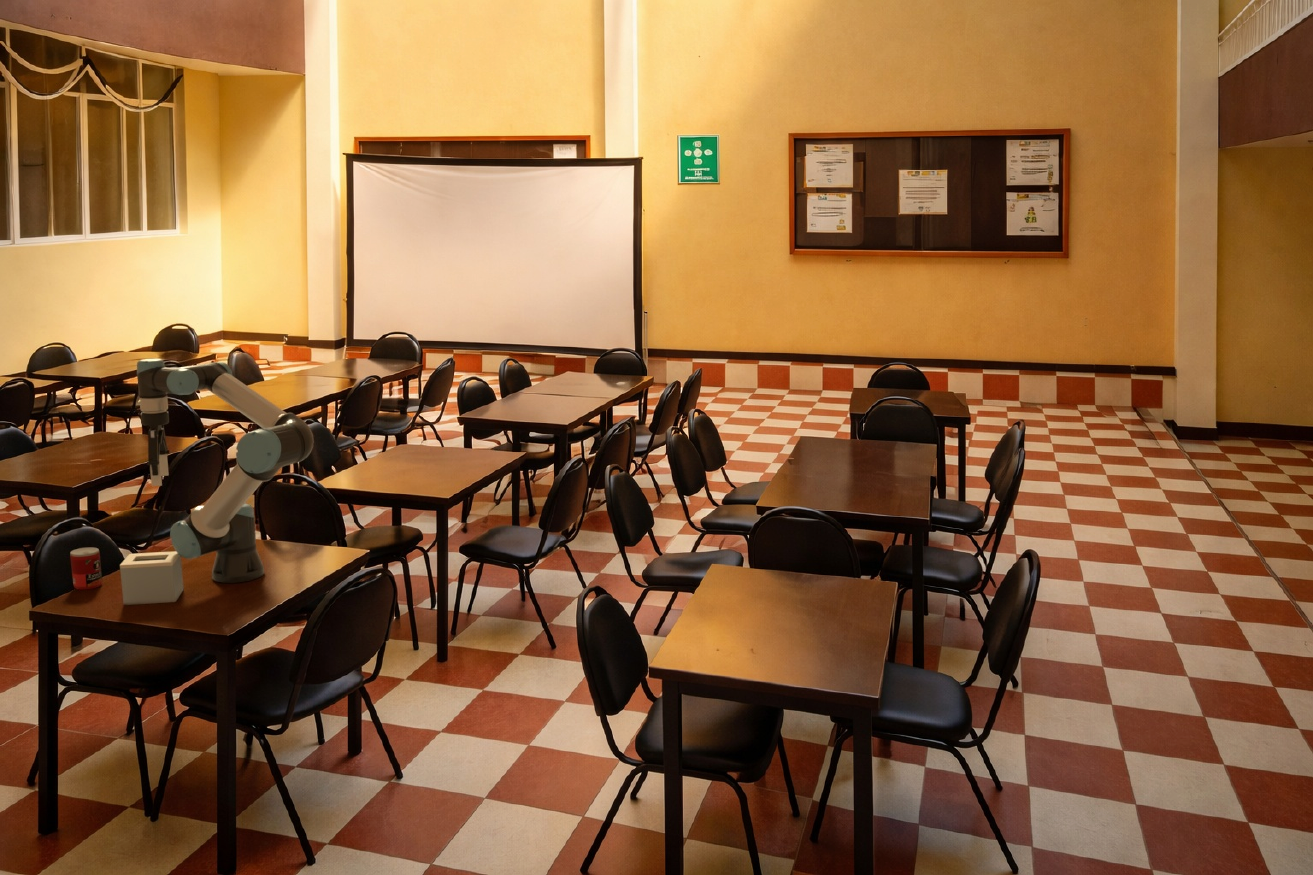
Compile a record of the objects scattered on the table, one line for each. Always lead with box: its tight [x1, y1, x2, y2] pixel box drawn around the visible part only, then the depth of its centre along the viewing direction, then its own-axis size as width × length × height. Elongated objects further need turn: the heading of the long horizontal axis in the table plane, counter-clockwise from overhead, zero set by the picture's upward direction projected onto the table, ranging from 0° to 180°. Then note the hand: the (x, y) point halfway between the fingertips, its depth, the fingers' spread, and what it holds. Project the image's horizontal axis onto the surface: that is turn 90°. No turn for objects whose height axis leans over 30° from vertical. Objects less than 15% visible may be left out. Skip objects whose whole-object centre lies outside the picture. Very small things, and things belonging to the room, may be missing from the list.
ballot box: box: [119, 550, 184, 606], centre depth 320 cm, size 14×11×12 cm
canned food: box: [69, 546, 103, 591], centre depth 330 cm, size 8×8×11 cm
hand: (160, 480), depth 329 cm, fingers open, 13 cm apart
